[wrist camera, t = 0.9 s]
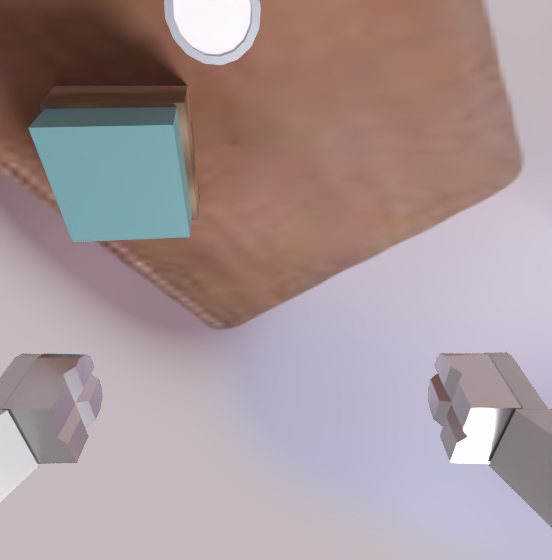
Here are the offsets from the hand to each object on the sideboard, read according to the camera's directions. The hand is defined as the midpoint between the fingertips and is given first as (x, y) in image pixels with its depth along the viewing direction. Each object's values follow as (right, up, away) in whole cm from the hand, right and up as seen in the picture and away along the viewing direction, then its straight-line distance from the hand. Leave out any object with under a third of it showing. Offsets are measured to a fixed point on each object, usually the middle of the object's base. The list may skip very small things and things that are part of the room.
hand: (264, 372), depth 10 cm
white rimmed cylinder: (-5, +26, +25) cm, 36 cm away
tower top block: (-14, +13, +29) cm, 35 cm away
